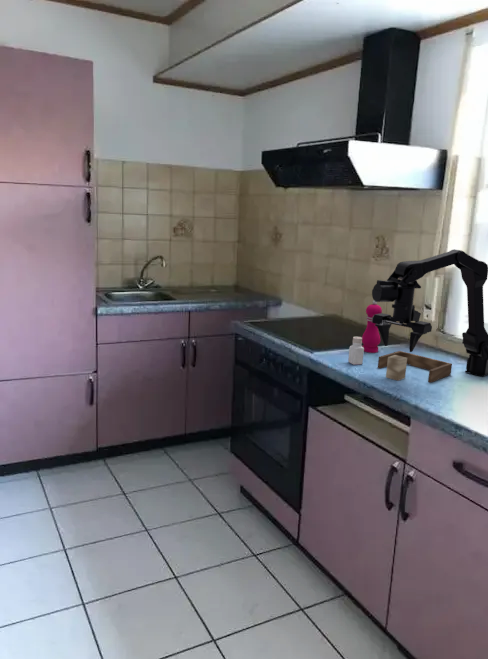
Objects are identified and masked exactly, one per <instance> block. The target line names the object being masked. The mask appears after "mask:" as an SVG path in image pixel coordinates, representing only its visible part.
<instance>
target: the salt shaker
mask: <svg viewBox="0 0 488 659" xmlns="http://www.w3.org/2000/svg"><path fill="white" fill-rule="evenodd" d="M362 344H363V343H362V336H353V337H352V344H351V345H350V346H349V349H348V363H350V364H352V365H354V366H355V365H356V366H357V365H363V361H364V353H365V352H364V348H363V347H362Z"/></svg>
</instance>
